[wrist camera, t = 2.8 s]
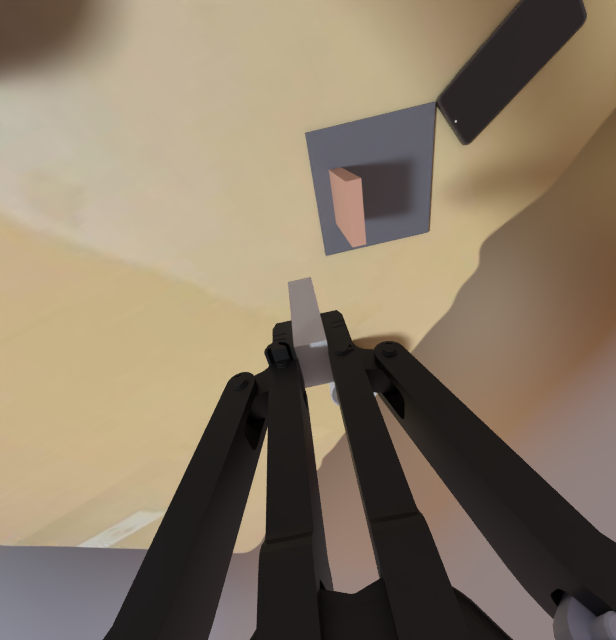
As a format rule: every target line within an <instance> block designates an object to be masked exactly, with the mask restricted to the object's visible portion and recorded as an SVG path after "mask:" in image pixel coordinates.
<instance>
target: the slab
mask: <svg viewBox="0 0 616 640" xmlns="http://www.w3.org/2000/svg"><path fill="white" fill-rule="evenodd" d="M329 175H330V183H331V190H332V197H333V205H334V212H335V219H336V224H337V226H338V227H339V228H340V230H341V231H342V233H343V234H344V236H345V237H346V239H347V240H348V241H349V243H350V244H351V246H352V247H357V246H362V245H366V234H365V221H364V208H363V195H362V182H361V178H360V177H358V176H356V175H354V174H353V173H351V172H349V171H347V170H345V169H343V168H342V167H339V168H335V169H331V170H329Z"/></svg>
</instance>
